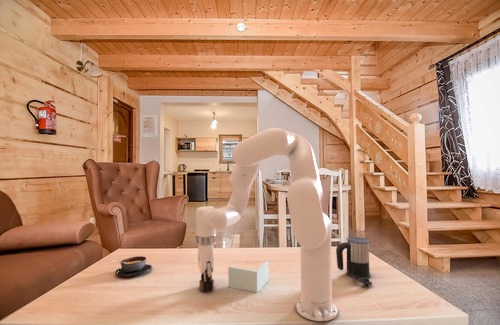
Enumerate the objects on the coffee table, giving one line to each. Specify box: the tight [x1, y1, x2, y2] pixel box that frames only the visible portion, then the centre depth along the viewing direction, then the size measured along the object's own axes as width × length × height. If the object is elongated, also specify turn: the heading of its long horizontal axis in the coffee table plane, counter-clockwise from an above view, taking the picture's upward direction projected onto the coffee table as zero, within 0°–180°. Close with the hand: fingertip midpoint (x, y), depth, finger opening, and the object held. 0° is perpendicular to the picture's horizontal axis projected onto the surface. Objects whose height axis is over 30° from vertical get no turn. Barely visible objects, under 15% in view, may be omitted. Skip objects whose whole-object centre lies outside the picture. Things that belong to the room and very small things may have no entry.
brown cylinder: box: [198, 278, 215, 293], centre depth 100 cm, size 5×5×3 cm
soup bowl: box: [111, 255, 153, 278], centre depth 117 cm, size 15×16×7 cm
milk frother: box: [335, 236, 373, 287], centre depth 108 cm, size 14×16×15 cm
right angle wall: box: [227, 260, 270, 293], centre depth 105 cm, size 12×12×8 cm
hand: (206, 287), depth 100 cm, fingers closed on brown cylinder, 5 cm apart
